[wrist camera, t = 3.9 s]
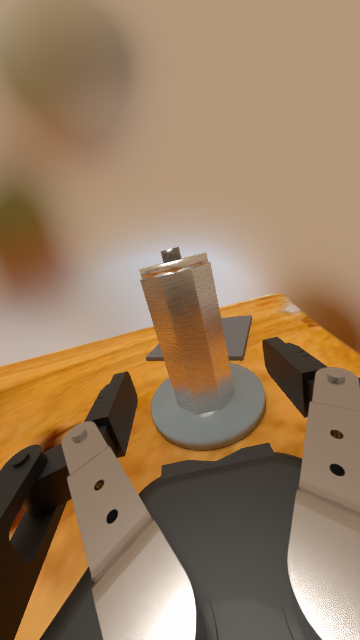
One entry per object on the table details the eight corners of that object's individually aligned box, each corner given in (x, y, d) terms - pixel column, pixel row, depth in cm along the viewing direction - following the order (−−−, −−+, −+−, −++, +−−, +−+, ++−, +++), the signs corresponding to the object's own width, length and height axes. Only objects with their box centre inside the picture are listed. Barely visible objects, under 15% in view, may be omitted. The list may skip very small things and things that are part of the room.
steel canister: (178, 419, 19) (129, 258, 15) (177, 381, 25) (141, 258, 20) (240, 405, 19) (209, 237, 15) (224, 370, 25) (199, 243, 20)
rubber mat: (146, 360, 35) (145, 357, 35) (181, 324, 48) (180, 322, 48) (242, 360, 28) (242, 356, 28) (251, 318, 41) (251, 315, 41)
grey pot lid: (131, 437, 20) (121, 413, 19) (178, 367, 30) (173, 349, 29) (263, 464, 15) (258, 432, 14) (266, 368, 25) (263, 347, 24)
